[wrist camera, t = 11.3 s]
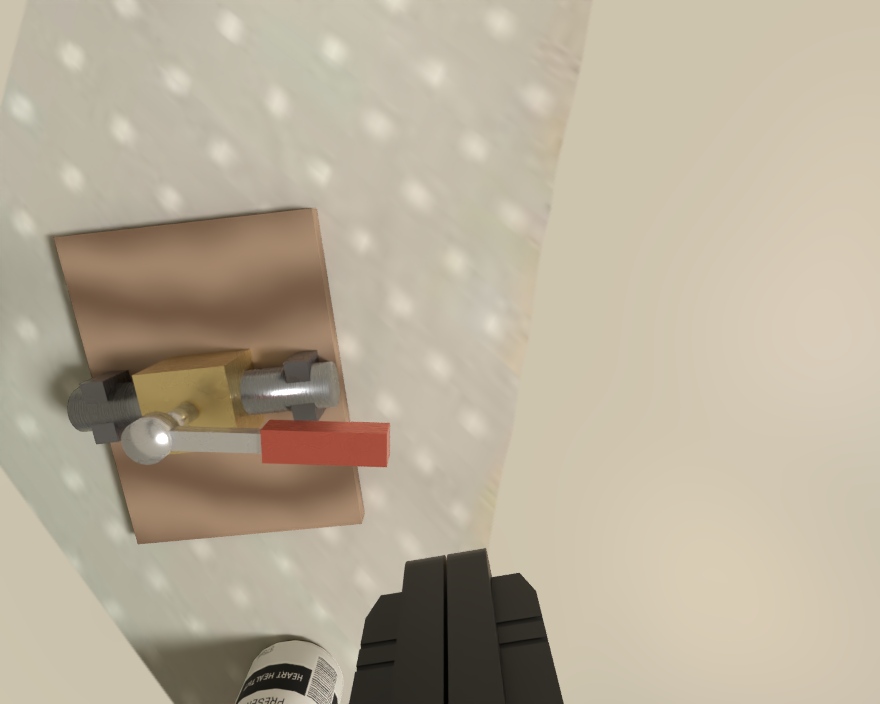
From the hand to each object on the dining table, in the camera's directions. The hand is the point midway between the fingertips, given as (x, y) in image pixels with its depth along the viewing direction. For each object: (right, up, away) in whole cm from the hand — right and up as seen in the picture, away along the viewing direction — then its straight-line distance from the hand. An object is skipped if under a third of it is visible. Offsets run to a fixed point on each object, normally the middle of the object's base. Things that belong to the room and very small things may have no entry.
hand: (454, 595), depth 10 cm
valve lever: (-11, 0, +21) cm, 24 cm away
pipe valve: (-17, +2, +30) cm, 35 cm away
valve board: (-17, +2, +30) cm, 35 cm away
